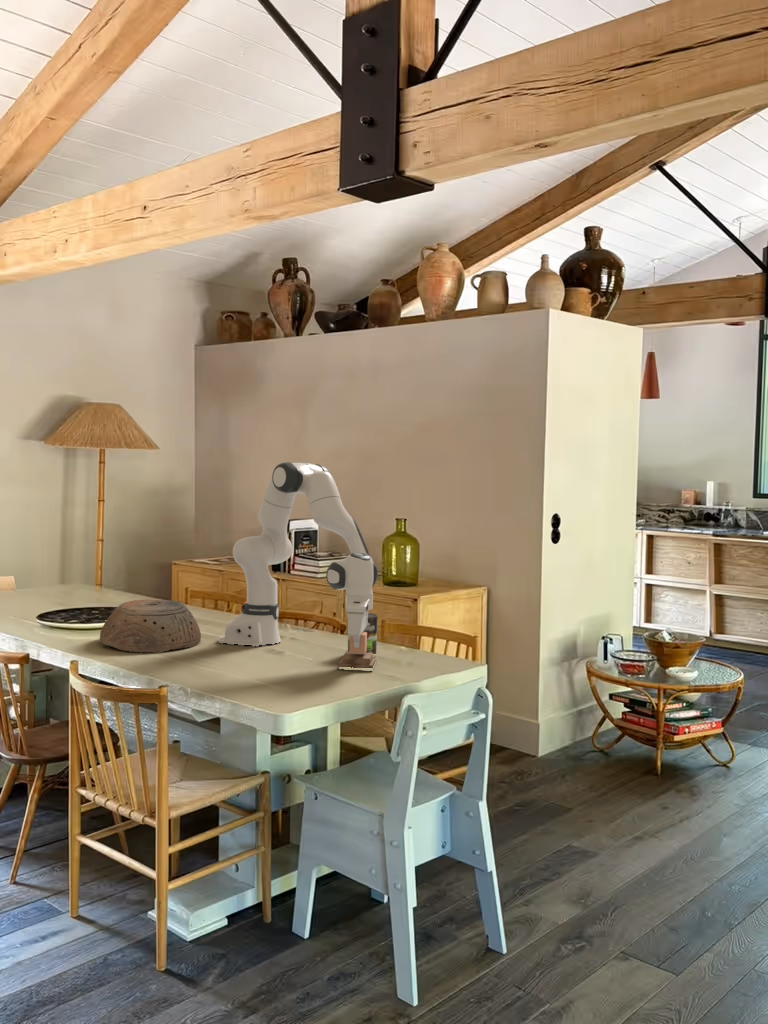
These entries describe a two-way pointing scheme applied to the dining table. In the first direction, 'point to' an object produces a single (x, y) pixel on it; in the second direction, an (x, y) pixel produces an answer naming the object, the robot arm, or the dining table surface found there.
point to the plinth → (357, 660)
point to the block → (362, 646)
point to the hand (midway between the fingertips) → (358, 645)
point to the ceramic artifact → (150, 626)
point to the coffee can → (370, 634)
